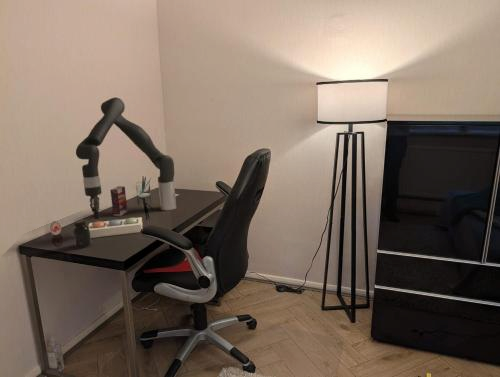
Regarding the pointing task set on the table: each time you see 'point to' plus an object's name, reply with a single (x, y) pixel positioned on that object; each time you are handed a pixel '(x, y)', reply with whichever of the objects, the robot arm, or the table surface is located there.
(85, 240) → the supplement bottle
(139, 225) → the button box
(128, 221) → the button sage
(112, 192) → the supplement box
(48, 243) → the table surface
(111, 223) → the button slate
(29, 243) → the table surface
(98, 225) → the button terracotta
